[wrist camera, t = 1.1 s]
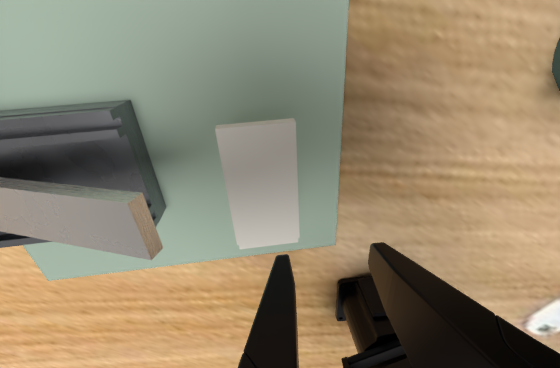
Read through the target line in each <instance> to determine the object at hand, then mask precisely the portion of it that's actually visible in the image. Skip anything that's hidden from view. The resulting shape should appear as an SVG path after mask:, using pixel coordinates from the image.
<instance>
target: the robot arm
mask: <svg viewBox="0 0 560 368" xmlns="http://www.w3.org/2000/svg"><path fill="white" fill-rule="evenodd" d="M368 265H369V269H370V271H371V274H372V276H367V277H359V278H352V279H344V280H340V281H339V282H338V287H337V302H336V319H337V321H345V320H347V323H348V326H349V329H350V332H351V334H352V337H353V340H354V343H355V346H356V349H357V351H358V354H356V355H353V356H351V357H345V358H342V363H343V368H560V353H558V352H556V351H554V350H553V349H551V348H549V347H548V346H546V345H544V344H542V343H541V342H539V341H537V340H536V339H534V338H533V337H531V336H529V335H528V334H526V333H524V332H523V331H521V330H520V329H518V328H516V327H515V326H513V325H512V324H510V323H509V322H507V321H505V320H504V319H502V318H501V317H499V316H497V315H496V316H495V314H494V313H493V312H491V311H490V310H488V309H487V308H485V307H484V306H482V305H480V304H479V303H477V302H476V301H474V300H473V299H471V298H470V297H468V296H466V295H465V294H463V293H462V292H460V291H459V290H457V289H456V288H454V287H452V286H451V285H449V284H448V283H446V282H445V281H443V280H442V279H440V278H438V277H437V276H435V275H434V274H432V273H431V272H429V271H428V270H426V269H424V268H423V267H421V266H420V265H418V264H417V263H415V262H414V261H412V260H410V259H409V258H407V257H406V256H404V255H403V254H401V253H400V252H398V251H396V250H395V249H393V248H392V247H390V246H389V245H387V244H386V243H383V242H380V243H373V244H371V246H370V252H369V259H368ZM238 368H299V360H298V331H297V312H296V292H295V282H294V277H293V272H292V267H291V263H290V258H289V255H288V254H284V255H277V256H276V258H275V261H274V264H273V267H272V270H271V273H270V276H269V278H268V281H267V284H266V287H265V290H264V293H263V296H262V299H261V302H260V305H259V308H258V311H257V313H256V316H255V319H254V322H253V325H252V328H251V331H250V334H249V337H248V340H247V343H246V345H245V348H244V353H243V354H242V357H241V360H240V362H239V365H238Z"/></svg>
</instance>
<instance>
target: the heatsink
mask: <svg viewBox="0 0 560 368" xmlns="http://www.w3.org/2000/svg"><path fill="white" fill-rule="evenodd" d="M0 177H2V178H12V179H21V180H30V181H40V182H49V183H58V184H67V185H77V186H86V187H95V188H104V189H114V190H123V191H132V192H142V193H143V195H144V198H145V201H146V203H147V206H148V209H149V211H150V214H151V217H152V219H153V222H154V225H155V227H156V226H157V224H158V223H159V221H160V219H161V217H162V215H163V213H164V211H165V209H166V204H165V201H164V198H163V195H162V192H161V189H160V186H159V183H158V180H157V177H156V174H155V171H154V168H153V165H152V162H151V159H150V156H149V153H148V150H147V147H146V144H145V141H144V138H143V135H142V132H141V129H140V126H139V123H138V120H137V117H136V114H135V111H134V108H133V105H132V102H131V100H119V101H108V102H96V103H84V104H72V105H60V106H48V107H36V108H24V109H12V110H0ZM45 242H53V241H48V240H43V239H37V238H32V237H27V236H22V235H17V234H12V233H6V232H1V231H0V248H2V247H10V246H19V245H28V244H36V243H45Z"/></svg>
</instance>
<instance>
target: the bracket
mask: <svg viewBox="0 0 560 368" xmlns="http://www.w3.org/2000/svg"><path fill="white" fill-rule="evenodd" d="M552 73H553V75H554V78H555V81H556V83H557V86H558V88H559V91H560V38H559V41H558V44H557V47H556V49H555V53H554V58H553V63H552Z"/></svg>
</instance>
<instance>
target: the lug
mask: <svg viewBox="0 0 560 368" xmlns="http://www.w3.org/2000/svg"><path fill="white" fill-rule="evenodd" d="M215 132H216V138H217V143H218V148H219V153H220V159H221V164H222V169H223V174H224V180H225V185H226V190H227V195H228V201H229V206H230V211H231V216H232V222H233V227H234V232H235V237H236V243H237V245H239V249H248V248H256V247H264V246H272V245H280V244H288V243H296V242H298V238H300V231H299V201H298V172H297V142H296V121H295V119H294V118H289V119H278V120H267V121H256V122H245V123H234V124H224V125H216V127H215Z"/></svg>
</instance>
